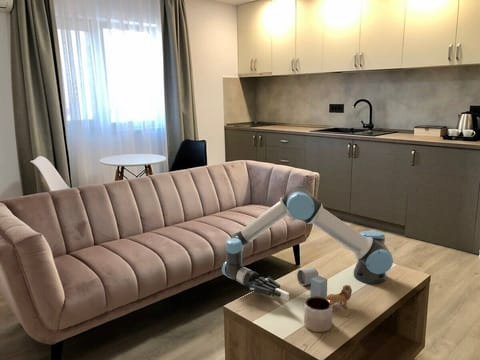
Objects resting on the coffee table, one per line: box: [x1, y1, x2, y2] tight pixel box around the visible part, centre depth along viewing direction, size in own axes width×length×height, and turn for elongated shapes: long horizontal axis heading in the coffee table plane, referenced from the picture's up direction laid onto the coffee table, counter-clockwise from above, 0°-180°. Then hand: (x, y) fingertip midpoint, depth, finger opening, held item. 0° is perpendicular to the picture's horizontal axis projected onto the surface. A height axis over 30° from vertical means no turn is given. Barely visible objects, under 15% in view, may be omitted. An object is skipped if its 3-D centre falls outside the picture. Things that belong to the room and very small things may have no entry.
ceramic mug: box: [296, 267, 320, 287], centre depth 189 cm, size 11×8×8 cm
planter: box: [303, 296, 333, 333], centre depth 154 cm, size 11×11×10 cm
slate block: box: [310, 275, 328, 298], centre depth 172 cm, size 5×5×10 cm
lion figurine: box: [327, 284, 353, 312], centre depth 166 cm, size 15×5×9 cm, turn 118°
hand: (287, 296), depth 164 cm, fingers closed
